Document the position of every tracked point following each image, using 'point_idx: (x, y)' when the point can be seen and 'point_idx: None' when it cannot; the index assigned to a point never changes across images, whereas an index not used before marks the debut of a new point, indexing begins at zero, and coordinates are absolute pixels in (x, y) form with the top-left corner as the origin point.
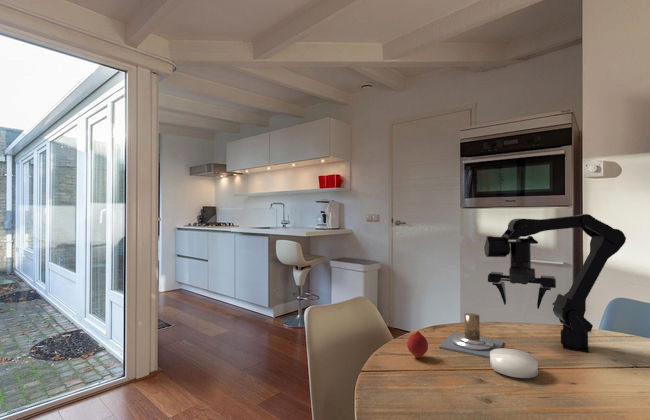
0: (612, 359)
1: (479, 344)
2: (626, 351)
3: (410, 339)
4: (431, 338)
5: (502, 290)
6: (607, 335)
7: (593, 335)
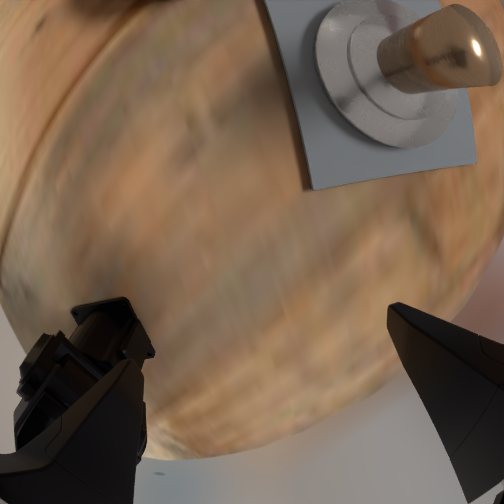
0: (30, 294)
1: (355, 27)
2: None
3: None
4: None
5: (499, 372)
6: None
7: None
